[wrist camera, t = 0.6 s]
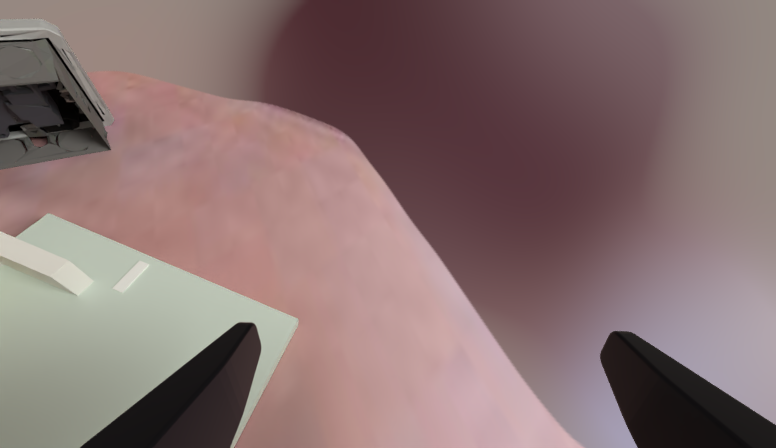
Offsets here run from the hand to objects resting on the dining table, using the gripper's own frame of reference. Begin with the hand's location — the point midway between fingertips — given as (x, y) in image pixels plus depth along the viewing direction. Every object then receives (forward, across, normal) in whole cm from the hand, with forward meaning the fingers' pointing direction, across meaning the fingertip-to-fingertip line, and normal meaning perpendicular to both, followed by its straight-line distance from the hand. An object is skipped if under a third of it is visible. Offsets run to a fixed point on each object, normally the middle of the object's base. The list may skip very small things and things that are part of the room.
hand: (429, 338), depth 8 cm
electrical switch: (+17, +27, 0) cm, 32 cm away
